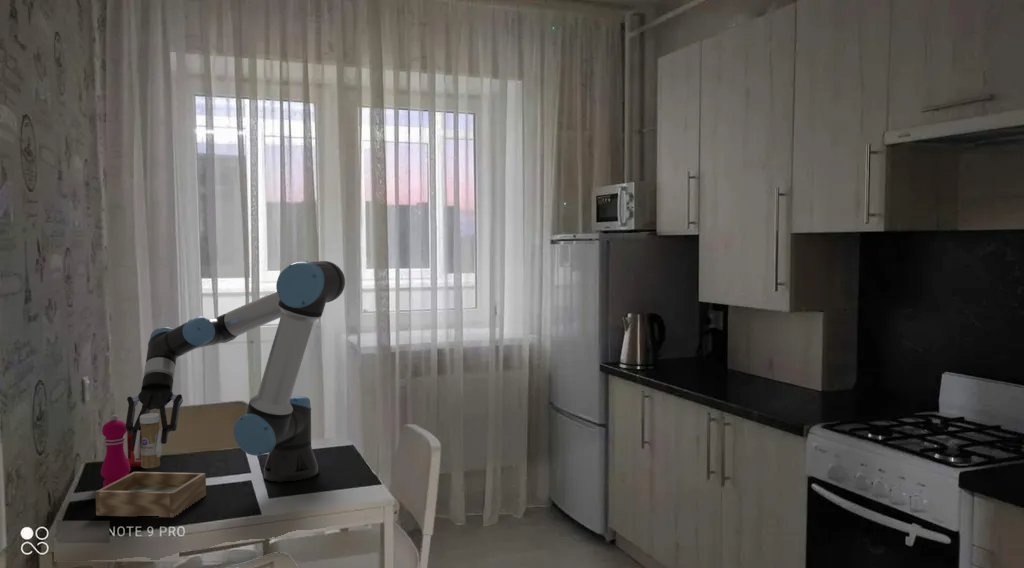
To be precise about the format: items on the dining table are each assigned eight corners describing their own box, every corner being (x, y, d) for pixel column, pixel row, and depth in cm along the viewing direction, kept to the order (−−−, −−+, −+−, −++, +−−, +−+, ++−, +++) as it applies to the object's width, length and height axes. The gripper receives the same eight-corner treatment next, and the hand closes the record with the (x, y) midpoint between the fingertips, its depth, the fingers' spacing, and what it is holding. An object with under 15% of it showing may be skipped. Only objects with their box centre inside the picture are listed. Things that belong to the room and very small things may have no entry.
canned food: (162, 461, 225) (161, 426, 225) (137, 468, 219) (136, 432, 218) (148, 458, 229) (147, 423, 229) (123, 464, 223) (121, 429, 222)
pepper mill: (118, 490, 198) (115, 418, 197) (95, 489, 200) (92, 417, 199) (136, 482, 206) (134, 412, 205) (114, 480, 207) (112, 411, 206)
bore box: (206, 495, 195) (205, 473, 194) (173, 517, 179) (173, 493, 178) (134, 493, 196) (133, 471, 196) (96, 515, 180) (95, 491, 180)
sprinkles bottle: (137, 469, 185) (136, 416, 184) (146, 463, 189) (144, 412, 189) (156, 468, 185) (154, 416, 184) (163, 463, 189) (162, 412, 189)
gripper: (194, 384, 203) (186, 459, 188) (125, 387, 199) (111, 465, 183) (191, 368, 198) (182, 444, 183) (120, 371, 193) (105, 450, 178)
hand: (147, 454), depth 183 cm, fingers closed on sprinkles bottle, 4 cm apart
